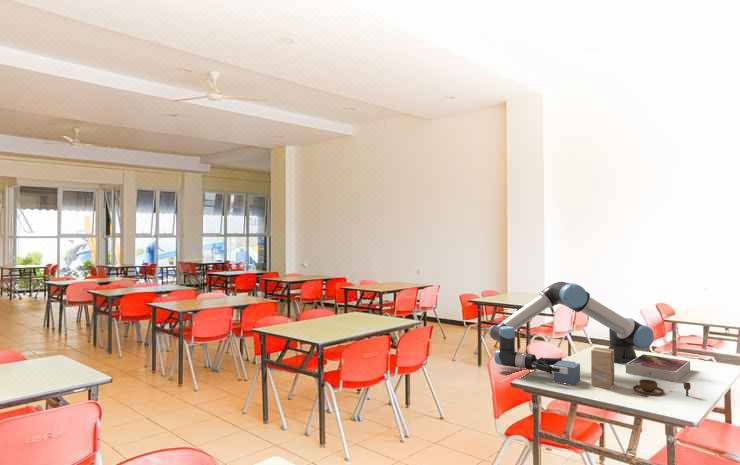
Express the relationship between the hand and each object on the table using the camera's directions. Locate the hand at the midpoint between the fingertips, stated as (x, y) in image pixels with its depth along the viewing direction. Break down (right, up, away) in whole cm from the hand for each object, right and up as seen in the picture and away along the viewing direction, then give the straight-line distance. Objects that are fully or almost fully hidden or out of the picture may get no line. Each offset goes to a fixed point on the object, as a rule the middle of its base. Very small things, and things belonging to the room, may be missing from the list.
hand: (571, 367), depth 233 cm
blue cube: (-2, -7, +1) cm, 7 cm away
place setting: (+30, -7, -17) cm, 36 cm away
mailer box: (+13, -7, -4) cm, 15 cm away
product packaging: (+50, -7, +17) cm, 53 cm away
